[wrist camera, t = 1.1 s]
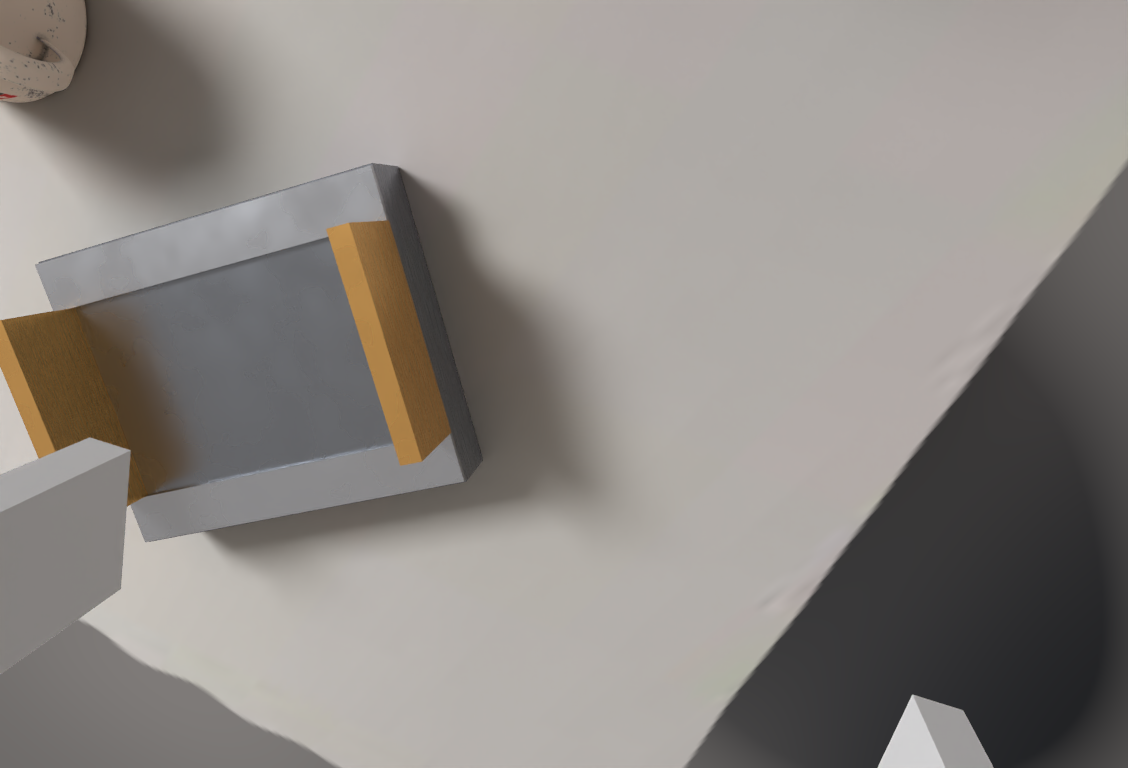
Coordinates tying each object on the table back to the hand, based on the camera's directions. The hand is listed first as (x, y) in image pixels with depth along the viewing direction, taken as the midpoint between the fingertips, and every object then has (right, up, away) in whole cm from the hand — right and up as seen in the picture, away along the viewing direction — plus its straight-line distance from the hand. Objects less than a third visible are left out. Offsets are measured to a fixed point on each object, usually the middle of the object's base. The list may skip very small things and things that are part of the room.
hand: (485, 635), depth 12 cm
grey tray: (-13, +5, +26) cm, 30 cm away
